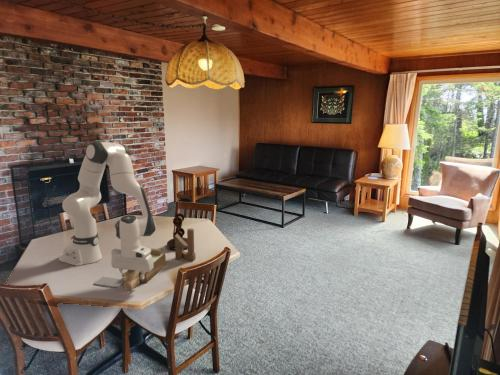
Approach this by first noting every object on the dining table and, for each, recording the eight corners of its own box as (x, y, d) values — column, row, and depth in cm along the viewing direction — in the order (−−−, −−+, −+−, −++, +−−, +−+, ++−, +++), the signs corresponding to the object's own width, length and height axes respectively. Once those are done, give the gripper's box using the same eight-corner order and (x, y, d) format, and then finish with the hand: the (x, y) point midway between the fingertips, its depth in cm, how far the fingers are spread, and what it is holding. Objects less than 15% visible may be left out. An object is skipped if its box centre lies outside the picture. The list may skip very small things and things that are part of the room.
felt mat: (93, 284, 166) (93, 283, 166) (102, 277, 173) (102, 276, 173) (117, 288, 163) (117, 287, 163) (126, 281, 170) (126, 280, 170)
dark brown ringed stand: (170, 241, 220) (168, 211, 215) (193, 241, 220) (192, 211, 216) (164, 250, 206) (163, 218, 201) (189, 251, 206) (188, 219, 201)
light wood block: (124, 289, 162) (123, 273, 161) (133, 282, 169) (132, 267, 167) (131, 290, 162) (130, 274, 160) (139, 283, 168) (138, 268, 166)
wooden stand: (177, 256, 198) (176, 226, 194) (195, 258, 196) (195, 228, 192) (175, 259, 195) (174, 229, 190) (193, 261, 192) (192, 230, 188)
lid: (129, 270, 169) (128, 263, 168) (150, 254, 188) (149, 247, 187) (144, 272, 167) (144, 265, 167) (163, 256, 186) (163, 249, 185)
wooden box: (128, 280, 171) (127, 267, 169) (149, 263, 190) (148, 251, 188) (146, 282, 168) (146, 270, 167) (165, 265, 187) (165, 253, 186)
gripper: (107, 250, 161) (109, 278, 164) (147, 255, 156) (149, 283, 159) (115, 245, 167) (117, 272, 170) (154, 249, 162) (155, 276, 165)
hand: (133, 277), depth 165 cm, fingers open, 8 cm apart
